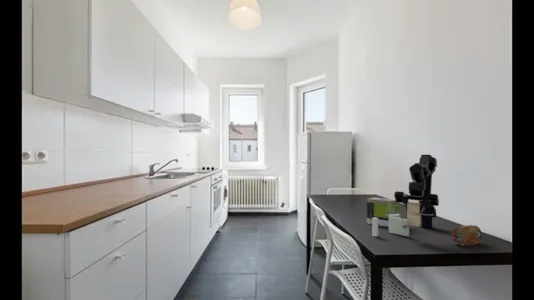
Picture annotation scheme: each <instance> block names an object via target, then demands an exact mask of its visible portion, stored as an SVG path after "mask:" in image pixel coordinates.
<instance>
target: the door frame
mask: <svg viewBox="0 0 534 300" xmlns="http://www.w3.org/2000/svg"><path fill="white" fill-rule="evenodd" d="M389 217H396V218H401V214H400V213H399V214H395V215H393V214H389ZM371 228H372V229H371V237H374V236H375V238H378V237H379V225H378V218H375V217H374V218H372V224H371ZM377 236H378V237H377Z"/></svg>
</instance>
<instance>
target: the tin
mask: <svg viewBox="0 0 534 300" xmlns="http://www.w3.org/2000/svg"><path fill="white" fill-rule="evenodd" d="M451 240H452V241H453V243H454V244H455V245H457V246H462V247H467V246H474V245H478V244H479V243H480V242H481V240H482V230H481V228H480V227H479V226H477V225H472V224H470V225H469V224H468V225H459V226H455V227H454V228H453V229H452V230H451Z"/></svg>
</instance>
